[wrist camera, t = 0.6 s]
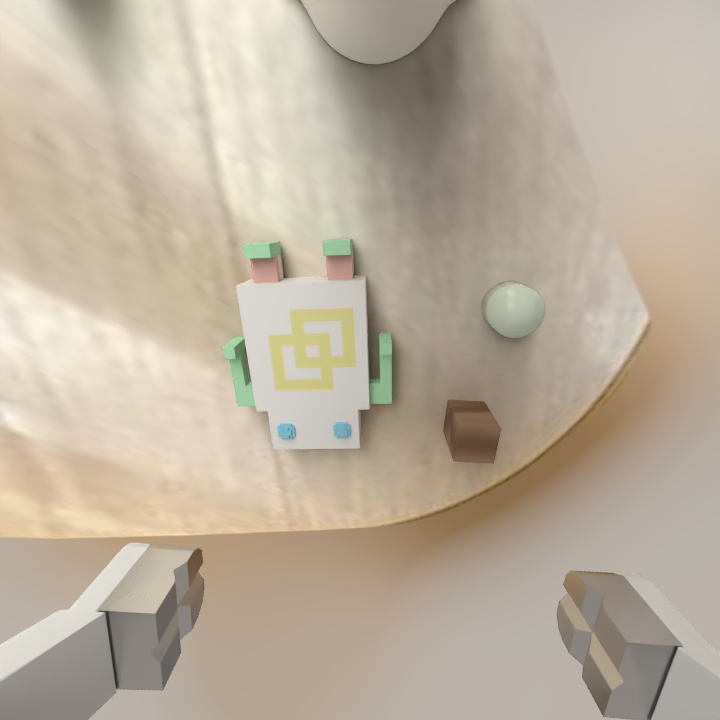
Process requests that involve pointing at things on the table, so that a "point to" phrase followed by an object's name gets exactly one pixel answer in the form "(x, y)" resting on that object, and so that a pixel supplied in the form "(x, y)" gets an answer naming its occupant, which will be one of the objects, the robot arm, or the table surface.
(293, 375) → the decorative block
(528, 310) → the sage rounded block
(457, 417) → the walnut block
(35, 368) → the table surface
